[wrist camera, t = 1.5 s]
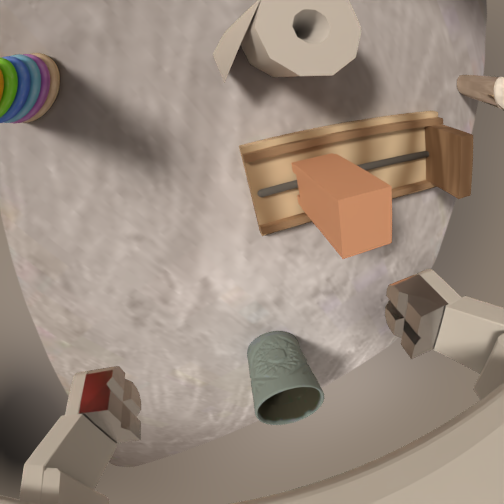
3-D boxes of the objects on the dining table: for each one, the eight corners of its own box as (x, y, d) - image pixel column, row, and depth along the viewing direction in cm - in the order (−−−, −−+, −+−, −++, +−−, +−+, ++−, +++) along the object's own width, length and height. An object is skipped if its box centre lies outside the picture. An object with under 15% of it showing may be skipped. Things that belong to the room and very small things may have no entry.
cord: (257, 196, 35) (259, 199, 34) (255, 189, 35) (257, 192, 34) (426, 155, 36) (430, 157, 35) (426, 149, 36) (430, 151, 35)
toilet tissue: (193, 58, 27) (195, 49, 20) (286, -13, 24) (315, -37, 17) (252, 116, 32) (272, 126, 24) (338, 45, 29) (378, 39, 21)
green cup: (277, 372, 54) (295, 427, 44) (229, 359, 50) (241, 421, 40) (312, 335, 50) (338, 392, 40) (263, 318, 46) (284, 381, 36)
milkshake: (447, 87, 33) (500, 99, 24) (461, 64, 31) (513, 72, 22) (461, 109, 35) (512, 124, 26) (475, 85, 33) (525, 97, 24)
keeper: (298, 205, 36) (342, 259, 26) (290, 160, 33) (337, 200, 23) (337, 194, 37) (391, 242, 26) (332, 151, 34) (391, 186, 23)
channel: (260, 231, 39) (276, 267, 32) (238, 145, 33) (253, 163, 26) (433, 183, 40) (470, 205, 33) (432, 110, 34) (474, 122, 27)
